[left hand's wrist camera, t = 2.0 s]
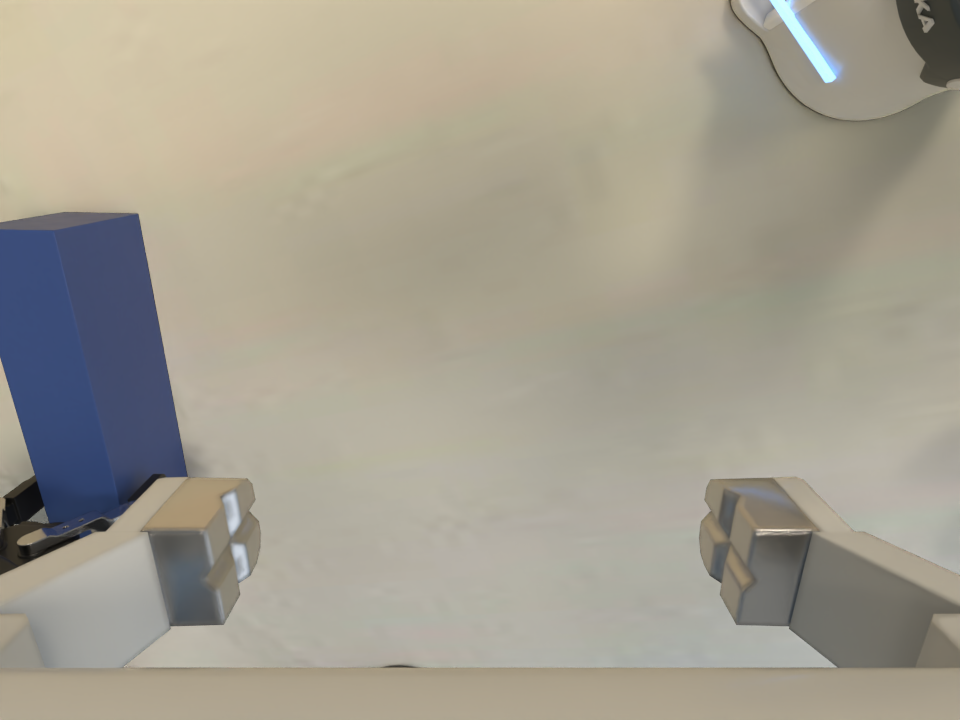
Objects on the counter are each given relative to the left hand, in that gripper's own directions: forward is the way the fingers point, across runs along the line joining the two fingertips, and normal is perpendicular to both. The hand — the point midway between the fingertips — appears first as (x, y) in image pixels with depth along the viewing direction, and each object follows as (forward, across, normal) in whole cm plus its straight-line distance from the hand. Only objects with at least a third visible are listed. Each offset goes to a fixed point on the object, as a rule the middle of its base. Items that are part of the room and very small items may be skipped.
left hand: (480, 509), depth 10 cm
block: (+34, -28, -10) cm, 45 cm away
